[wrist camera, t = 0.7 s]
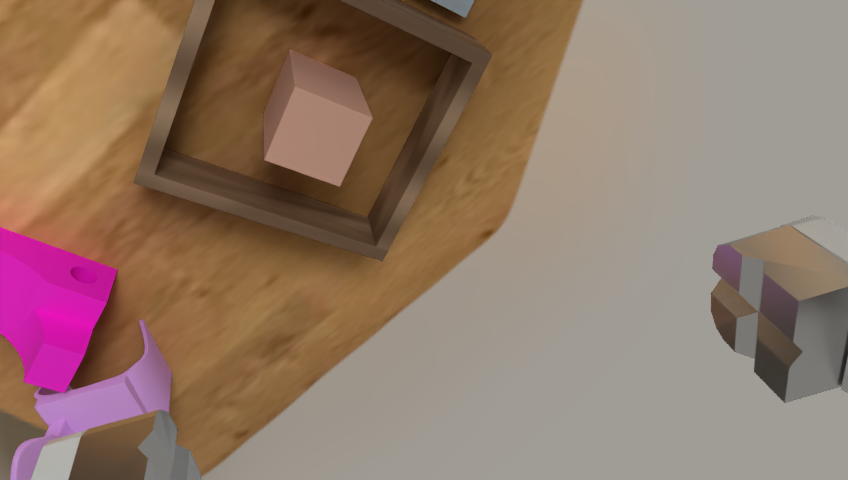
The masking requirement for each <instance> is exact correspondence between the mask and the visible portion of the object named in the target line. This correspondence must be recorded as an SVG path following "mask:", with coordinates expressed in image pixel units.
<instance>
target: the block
mask: <svg viewBox="0 0 848 480" xmlns="http://www.w3.org/2000/svg"><path fill="white" fill-rule="evenodd" d="M371 121H372V115H371V113H370V110H369V108H368V105H367V103H366V100H365V98H364V95H363V93H362V90H361V88H360V85H359V83H358V80H357V78H356V77H354V76H352V75H349V74H347V73H345V72H342V71H340V70H338V69H335V68H333V67H331V66H328V65H326V64H324V63H321V62H319V61H317V60H314V59H312V58H310V57H307V56H305V55H303V54H300V53H298V52H296V51H293V50H291V49H289V51H288V53H287V56H286V58H285V61H284V63H283V65H282V68H281V70H280V73H279V75H278V78H277V80H276V83H275V85H274V88H273V90H272V93H271V95H270V98H269V100H268V103H267V105H266V107H265V110H264V112H263V131H264V160H265V161H268V162H271V163H274V164H277V165H280V166H282V167H285V168H288V169H291V170H294V171H296V172H299V173H302V174H305V175H308V176H311V177H313V178H316V179H319V180H322V181H325V182H328V183H330V184H333V185H336V186H339V187H340V185H341V183H342V181H343V179H344V177H345V175H346V173H347V171H348V169H349V167H350V164H351V162H352V160H353V158H354V156H355V154H356V152H357V150H358V148H359V146H360V144H361V141H362V139H363V137H364V135H365V133H366V131H367V129H368V127H369V125H370V123H371Z"/></svg>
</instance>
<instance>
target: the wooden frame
mask: <svg viewBox="0 0 848 480" xmlns="http://www.w3.org/2000/svg"><path fill="white" fill-rule="evenodd" d="M341 1H343V2H345V3H347V4H349V5H351V6H353V7H355V8H358V9H360V10H362V11H364V12H366V13H368V14H370V15H372V16H374V17H376V18H379V19H381V20H383V21H385V22H387V23H389V24H391V25H393V26H395V27H398V28H400V29H402V30H404V31H406V32H408V33H410V34H412V35H414V36H417V37H419V38H421V39H423V40H425V41H427V42H429V43H431V44H433V45H436V46H438V47H440V48H442V49H444V50H446V51H448V52H450V53H451V54H450V56H449V58H448V60H447V62H446V64H445V66H444V68H443V70H442V72H441V74H440V76H439V78H438V80H437V82H436V84H435V86H434V88H433V90H432V92H431V94H430V96H429V98H428V99H427V101H426V103H425V105H424V107H423V109H422V111H421V113H420V115H419V117H418V119H417V121H416V123H415V125H414V127H413V129H412V131H411V133H410V135H409V137H408V139H407V141H406V143H405V145H404V147H403V149H402V151H401V153H400V155H399V157H398V159H397V161H396V163H395V165H394V167H393V168H392V170H391V172H390V174H389V176H388V178H387V180H386V182H385V184H384V186H383V188H382V190H381V192H380V194H379V196H378V198H377V200H376V202H375V204H374V206H373V208H372V210H371V212H370V214H369V216H368V217H365V216H362V215H359V214H356V213H353V212H350V211H347V210H344V209H342V208H339V207H336V206H333V205H330V204H327V203H324V202H321V201H318V200H315V199H312V198H309V197H306V196H303V195H300V194H297V193H294V192H292V191H289V190H286V189H283V188H280V187H277V186H274V185H271V184H268V183H265V182H262V181H259V180H256V179H253V178H250V177H247V176H245V175H242V174H239V173H236V172H233V171H230V170H227V169H224V168H221V167H218V166H215V165H212V164H209V163H206V162H203V161H200V160H197V159H195V158H192V157H189V156H186V155H183V154H180V153H177V152H174V151H171V150H168V149H165V148H164V145H165V142H166V139H167V137H168V134H169V131H170V128H171V125H172V122H173V119H174V116H175V114H176V111H177V108H178V105H179V102H180V99H181V96H182V93H183V91H184V88H185V85H186V82H187V79H188V76H189V73H190V71H191V68H192V65H193V62H194V59H195V56H196V53H197V50H198V48H199V45H200V42H201V39H202V36H203V33H204V30H205V27H206V25H207V22H208V19H209V16H210V13H211V10H212V7H213V4H214V2H215V0H195V2H194V5H193V8H192V11H191V14H190V17H189V20H188V23H187V26H186V29H185V32H184V35H183V38H182V41H181V44H180V46H179V49H178V52H177V55H176V58H175V61H174V64H173V67H172V70H171V73H170V76H169V79H168V82H167V85H166V88H165V91H164V94H163V97H162V100H161V103H160V106H159V109H158V112H157V115H156V118H155V121H154V124H153V127H152V130H151V133H150V136H149V139H148V142H147V145H146V148H145V151H144V154H143V157H142V160H141V163H140V166H139V169H138V171H137V174H136V177H135V180H134V183H135V184H138V185H141V186H145V187H148V188H151V189H154V190H157V191H161V192H164V193H167V194H170V195H173V196H176V197H180V198H183V199H186V200H189V201H192V202H196V203H199V204H202V205H205V206H208V207H211V208H215V209H218V210H221V211H224V212H227V213H231V214H234V215H237V216H240V217H243V218H246V219H250V220H253V221H256V222H259V223H262V224H266V225H269V226H272V227H275V228H278V229H281V230H285V231H288V232H291V233H294V234H297V235H301V236H304V237H307V238H310V239H313V240H316V241H320V242H323V243H326V244H329V245H332V246H336V247H339V248H342V249H345V250H348V251H351V252H355V253H358V254H361V255H364V256H367V257H371V258H374V259H377V260H380V261H383V259H384V257H385V256H386V254H387V252H388V250H389V248H390V246H391V244H392V242H393V241H394V239H395V237H396V235H397V233H398V231H399V229H400V227H401V226H402V224H403V222H404V220H405V218H406V216H407V214H408V212H409V211H410V209H411V207H412V205H413V203H414V201H415V199H416V197H417V196H418V194H419V192H420V190H421V188H422V186H423V184H424V182H425V181H426V179H427V177H428V175H429V173H430V171H431V169H432V167H433V166H434V164H435V162H436V160H437V158H438V156H439V154H440V153H441V151H442V149H443V147H444V145H445V143H446V141H447V139H448V138H449V136H450V134H451V132H452V130H453V128H454V126H455V124H456V123H457V121H458V119H459V117H460V115H461V113H462V111H463V109H464V108H465V106H466V104H467V102H468V100H469V98H470V96H471V94H472V93H473V91H474V89H475V87H476V85H477V83H478V81H479V79H480V78H481V76H482V74H483V72H484V70H485V68H486V66H487V65H488V63H489V61H490V59H491V57H492V54H491V53H490V52H489V51H488V50H486V49H485V48H484V47H483V46H482V45H481V44H480V43H479V42H478V41H477V40H476V39H475V38H474V37H472V36H470V35H468V34H466V33H464V32H462V31H460V30H458V29H456V28H454V27H452V26H450V25H448V24H446V23H444V22H442V21H440V20H438V19H436V18H433V17H431V16H429V15H427V14H425V13H423V12H421V11H419V10H417V9H415V8H413V7H411V6H409V5H407V4H405V3H403V2H401V1H399V0H341Z"/></svg>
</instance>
